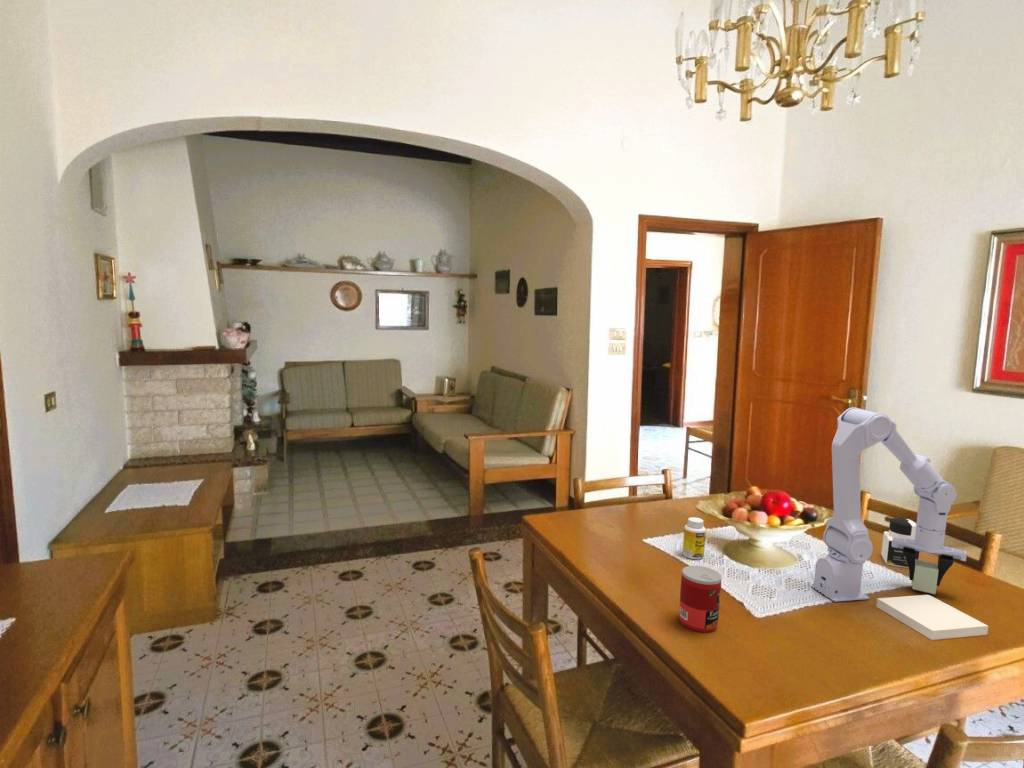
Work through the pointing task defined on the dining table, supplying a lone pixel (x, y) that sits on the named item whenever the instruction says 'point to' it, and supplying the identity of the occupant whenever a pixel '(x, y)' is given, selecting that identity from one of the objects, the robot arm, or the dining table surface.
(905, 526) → the medicine bottle
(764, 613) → the dining table surface
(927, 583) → the sage block
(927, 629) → the cream slab
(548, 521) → the dining table surface
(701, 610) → the canned food
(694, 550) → the supplement bottle
